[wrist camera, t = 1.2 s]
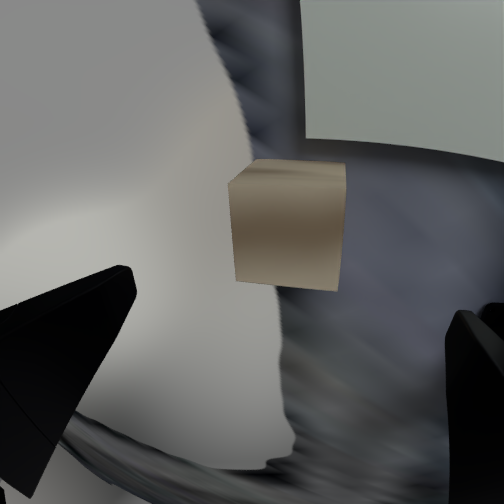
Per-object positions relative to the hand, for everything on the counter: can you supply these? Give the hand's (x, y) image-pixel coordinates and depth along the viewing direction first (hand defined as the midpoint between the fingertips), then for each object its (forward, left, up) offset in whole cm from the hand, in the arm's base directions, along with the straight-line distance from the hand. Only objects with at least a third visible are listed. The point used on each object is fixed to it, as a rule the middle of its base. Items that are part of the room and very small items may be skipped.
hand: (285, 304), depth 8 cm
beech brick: (-1, +1, -11) cm, 11 cm away
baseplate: (+10, -6, -11) cm, 16 cm away
